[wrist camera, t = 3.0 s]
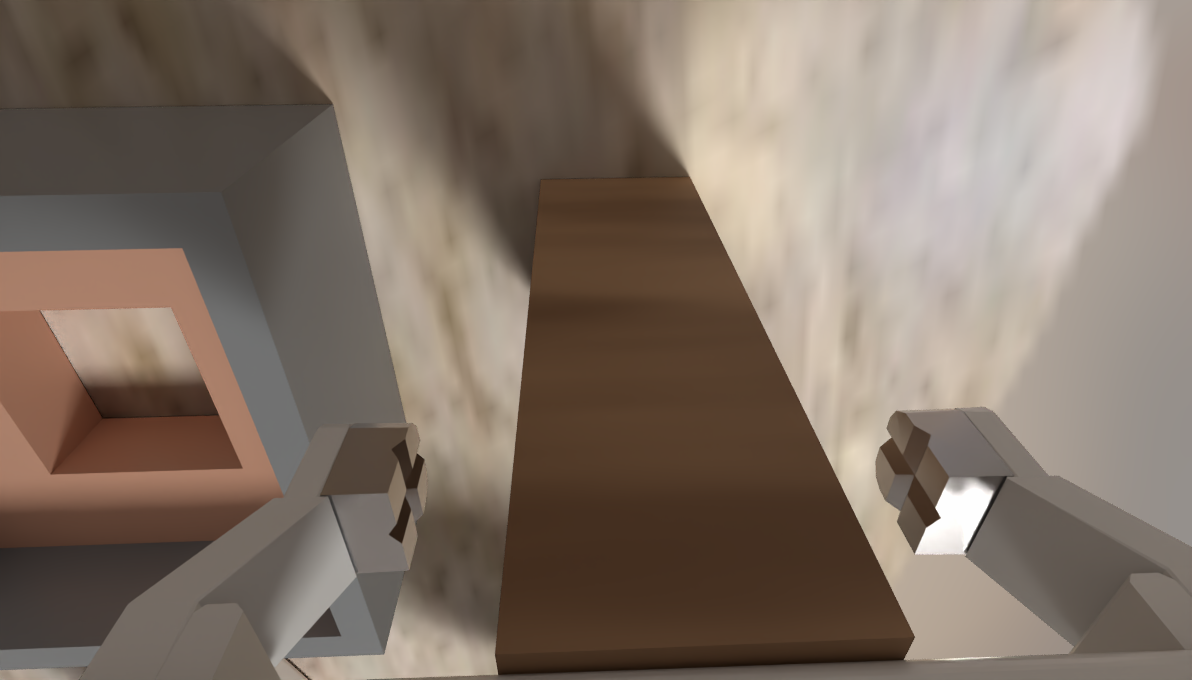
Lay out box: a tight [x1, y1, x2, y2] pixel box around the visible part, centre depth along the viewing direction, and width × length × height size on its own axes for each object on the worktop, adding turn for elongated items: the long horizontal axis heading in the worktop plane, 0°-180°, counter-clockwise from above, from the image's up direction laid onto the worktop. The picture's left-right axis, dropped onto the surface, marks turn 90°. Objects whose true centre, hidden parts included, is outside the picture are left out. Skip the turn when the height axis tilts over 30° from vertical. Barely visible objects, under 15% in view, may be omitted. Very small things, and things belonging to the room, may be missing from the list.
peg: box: [495, 177, 915, 675], centre depth 12 cm, size 4×4×13 cm
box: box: [0, 104, 417, 670], centre depth 17 cm, size 14×14×6 cm
